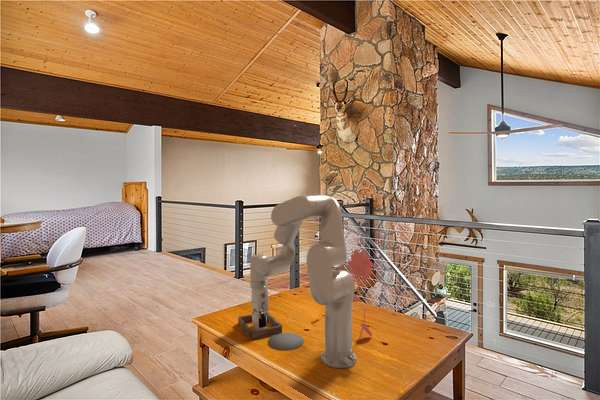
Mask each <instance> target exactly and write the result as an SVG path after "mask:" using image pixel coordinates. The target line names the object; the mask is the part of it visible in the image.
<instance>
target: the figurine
mask: <svg viewBox="0 0 600 400" xmlns="http://www.w3.org/2000/svg"><path fill="white" fill-rule="evenodd" d="M370 258H371V256H370V254H369V253H366V251H365V250H364V249H363V250H362V251H360V252H359V250H358V249H357V248H356V249H354V250H353V253H351V254H350V260H348V261H347V265H348V266H349V267H350V272H351V273H352V275H351V276H352V277H353V278H355V279H354V283H356V284H357V285H358V288H357V293H356V295H355V294H354V296H353V301H354V302H355V303H358V302H359V303H360V305H361V306H362V307H363V309H364V311H363V323H360V322H355V324H356V325H357V324H358V325H360V326H361V330H360V333H359V336H358V340H359V341H360V340H361V338H362V334H363V331H364V332H366V333H367V334H368V335H369V336H370V337H371V338H372V337H373V334H372V332H371V330H370V329H369V328H368V327H370V328H372V329H375V330H376V331H378V329H377V328H375V327H372V326H371V325H369V324H368V325H367V324H365V320H366V308H365V306H364V305H363V303H362V302H361V300H360V297H359V292H360V291H359V290H360V288H361V287H363V285H364V284H365V282H366V281H367V279H368V278H369V277H370V276H371V275H372V276H373V277H374V278H375V279H376V280H377V281H378V282H380V283H381V285H383V286H384V285H385V284H384V283H383V281H382V280H381V279H380V278H379V277H378V276H377V275H376V274H375V273H374V272H373V270H372V268H374V263H373V262H372V261H371V260H370ZM344 266H345V263H344V264H343V265H341V266H339V267H336V268H337V269H338V270H343V269H342V268H343V267H344ZM360 278H362V279H363V281H362V282H359V281H357V280H359V279H360ZM371 345H372V343H371V344H369V346H371Z"/></svg>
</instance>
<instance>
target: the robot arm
mask: <svg viewBox="0 0 600 400" xmlns="http://www.w3.org/2000/svg"><path fill="white" fill-rule="evenodd" d="M270 218H271V219H270V220H271V222H272V224H274V226H276V229H275V231H274V233H273V237H274V240H275V241H276V242H277V243H279V244H281V245H282V246H281V247H282V248H281V249H280V251H279V253H278V254H276V255H273V256H269V257H268V256H267V255H266V254H264V253H263V254H260V253H259V254H253V255H251V256H250V258H249V261H250V262H249V263H250V264H249V265H250V271H249V272H250V273H249V274H250V275H249V276H250V279H249V280H250V285H249V286H250V289H251V306H252V312H253V311H255V310H257V311H258V312H259V317H260V318H259V328H263V327H266V328H267V322H266V318H267V313H268V311H269V309H270V305H269V303H270V301H269V291H268V287H269V277H271V276H275V275H277V274H280V273H284V272H286V271H287V270H288V269H290V267H291V265H292V263H293V261H294V259H295V255H296V248H295V247H296V246H295V244H294V243H295V242H294V241H295V240H296V237H297V235H298V234H299V231H300V228H301V226H302V225H303V223H304V220H311V219H317V218H318V219H321V220H320V224H319V237H320V242H319V243H316V244H313V245H311V246H310V248H309V250H308V251H307V254H306V266H307V275H308V283H309V290H310V294H311V296H312V298H313V300H314V301H315V302H316V303H317V304H318V305H321V306H325V308H324V309H325V310H324V311H325V312H324V348H325V349H324V350H323V351H322V352H321V353H320V360H321V362H322V363H323V364H325V365H326V366H328V367H330V368H334V369H335V368H336V369H347V368H352V367H353V365H355V364H356V363H357V354H356V353H354V350H353V303H354V302H353V301H354V300H353V297H354V296H355V287H356V284H355V283H356V282H355V281H354V280H355V279H354V277H352V276H353V275H352V274H351V273H350V272H348V271H346V270H343V269H342V270H340V269H338V270H334V271H332V269H335V268H337V267H339V266H341V265H343V264H344V265H345V264H346V262H347V257H348V253H347V245H346V240H345V233H344V225H343V224H344V223H343V211H342V208H341V205H340V203H339V202H338V201H337V200H336V199H335V198H334V197H332V196H329V195H325V194H307V195H305V194H303V195H299V196H295V197H292V198H290V199H287V200H284V201H282V202H280V203H277V204H276V205H275V206H274V207H273V209H272V211H271V213H270ZM260 310H263V311H260ZM261 312H263V314H262V315H261Z"/></svg>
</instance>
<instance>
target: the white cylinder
mask: <svg viewBox="0 0 600 400" xmlns="http://www.w3.org/2000/svg"><path fill="white" fill-rule="evenodd" d="M260 311H263V309H261V310H260ZM262 314H263V312H261V315H262ZM251 315H252V322H251V323H252V329H253V331H255V330H260V329H265V328H267V326H266V327H263V328H259V318H260V317H259V312H258V311H257V310H255V311H253V310H252V311H251ZM267 322H268V321H267V318H266V323H267Z"/></svg>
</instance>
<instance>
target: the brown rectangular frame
mask: <svg viewBox="0 0 600 400" xmlns="http://www.w3.org/2000/svg"><path fill="white" fill-rule="evenodd" d="M237 321H238V322H237V325H238V327H240V329H241V330H242V331H243V332H244V334H245V335H246V336H247V337H248V339H249V340H251V341H252V340H256V339H261V338H266V337H272V336H274V335H276V334H280V333H283V324H282V323H280V321H278V319H276V318H275V317H274V316H273V315H272V314H271V313H269V312H267V322H268V323H269V324H270V325H271V326H270V327H266V328H265V329H260V330H252V329H251V328H250V327H249V325H248V324H249V323H253V322H252V314H247V315H243V316H242V315H241V316H238V318H237Z"/></svg>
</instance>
